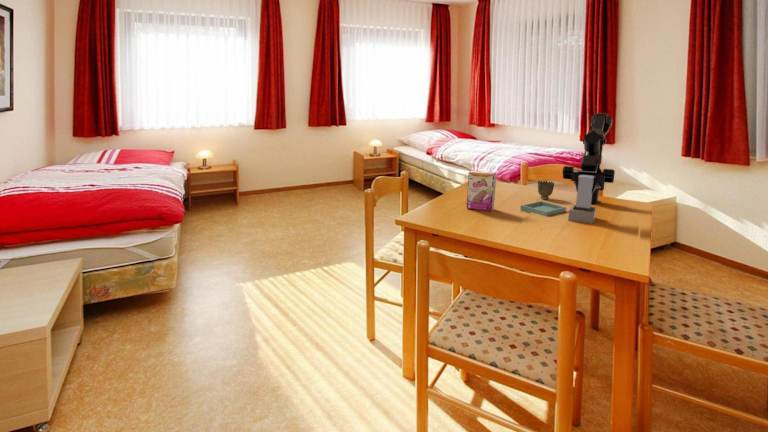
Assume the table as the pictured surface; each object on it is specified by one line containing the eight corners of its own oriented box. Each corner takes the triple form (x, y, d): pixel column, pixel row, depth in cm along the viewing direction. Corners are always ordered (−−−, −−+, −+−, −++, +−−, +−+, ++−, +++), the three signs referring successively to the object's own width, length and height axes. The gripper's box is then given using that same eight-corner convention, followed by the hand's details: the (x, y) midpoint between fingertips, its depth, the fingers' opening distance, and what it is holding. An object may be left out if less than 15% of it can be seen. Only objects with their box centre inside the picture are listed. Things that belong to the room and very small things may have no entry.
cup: (553, 201, 215) (555, 184, 213) (537, 200, 217) (538, 183, 215) (551, 197, 222) (553, 180, 220) (535, 196, 224) (536, 180, 222)
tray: (540, 206, 207) (540, 201, 206) (565, 212, 196) (566, 207, 196) (520, 210, 200) (520, 205, 199) (545, 217, 190) (546, 212, 189)
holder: (571, 216, 191) (572, 204, 190) (594, 219, 187) (596, 207, 185) (568, 222, 183) (569, 209, 182) (592, 225, 179) (594, 212, 178)
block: (577, 203, 187) (580, 174, 183) (590, 205, 184) (594, 175, 181) (575, 206, 182) (579, 176, 179) (589, 208, 180) (593, 177, 177)
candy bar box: (466, 209, 203) (467, 172, 198) (469, 206, 207) (470, 170, 203) (491, 211, 198) (494, 174, 194) (494, 209, 203) (496, 172, 198)
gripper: (565, 145, 185) (558, 178, 178) (617, 148, 176) (612, 182, 170) (566, 162, 193) (559, 193, 187) (616, 165, 185) (610, 198, 179)
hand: (584, 192), depth 181 cm, fingers closed on block, 5 cm apart
